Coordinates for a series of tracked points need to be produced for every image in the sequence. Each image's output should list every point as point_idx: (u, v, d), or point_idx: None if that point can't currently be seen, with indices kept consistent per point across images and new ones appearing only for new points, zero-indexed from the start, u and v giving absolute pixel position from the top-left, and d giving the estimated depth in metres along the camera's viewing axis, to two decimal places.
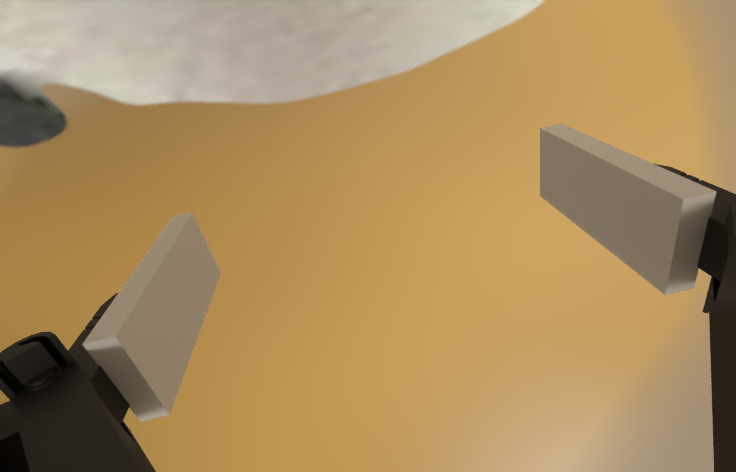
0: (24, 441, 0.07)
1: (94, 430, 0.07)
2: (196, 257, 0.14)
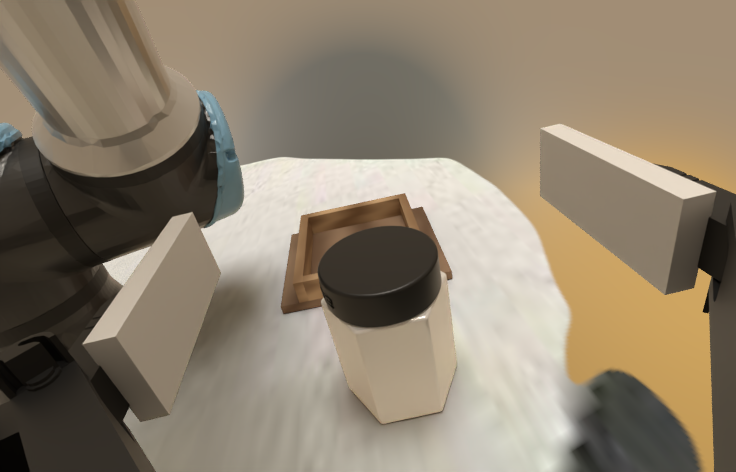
0: (24, 441, 0.07)
1: (94, 430, 0.07)
2: (196, 257, 0.14)
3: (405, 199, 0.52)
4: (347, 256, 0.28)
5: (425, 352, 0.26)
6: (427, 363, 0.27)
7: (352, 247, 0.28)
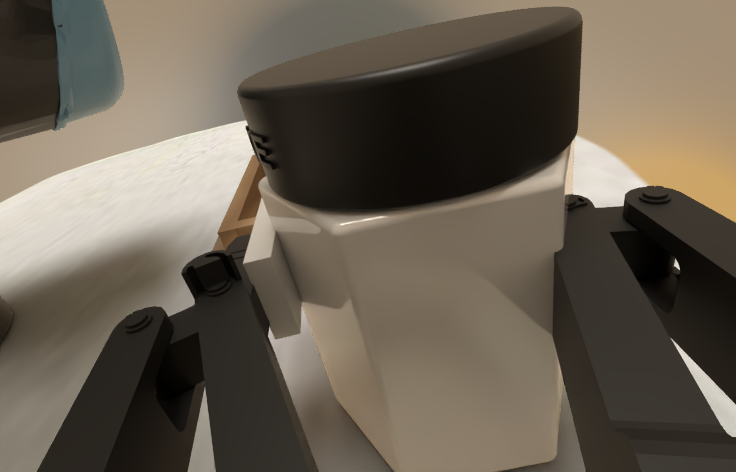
0: (200, 335, 0.09)
1: (249, 343, 0.08)
2: None
3: None
4: (322, 58, 0.11)
5: (539, 301, 0.09)
6: (539, 335, 0.10)
7: (337, 51, 0.12)
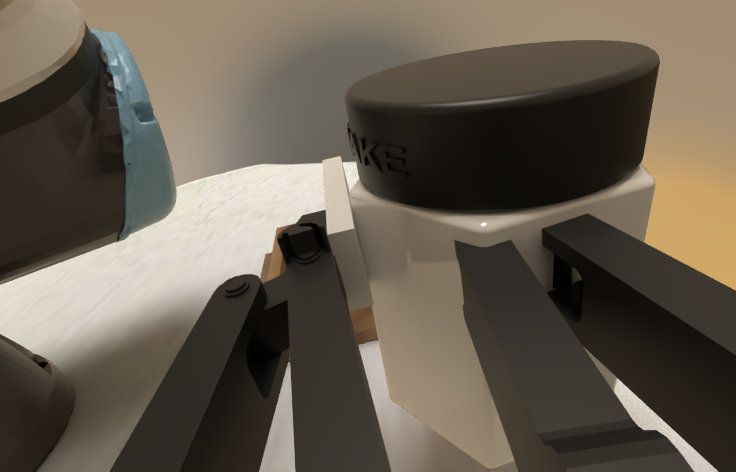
0: (288, 298, 0.09)
1: (334, 313, 0.08)
2: (349, 193, 0.16)
3: None
4: (412, 77, 0.12)
5: None
6: None
7: (414, 71, 0.13)
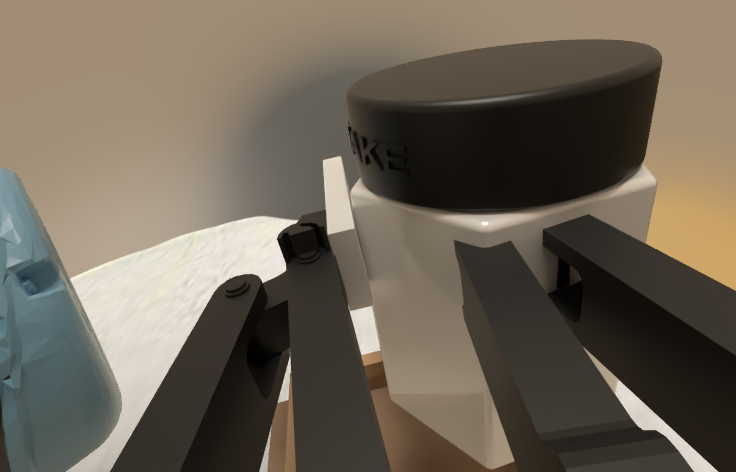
0: (288, 298, 0.09)
1: (334, 313, 0.08)
2: (349, 193, 0.16)
3: None
4: (413, 76, 0.12)
5: None
6: None
7: (415, 70, 0.13)
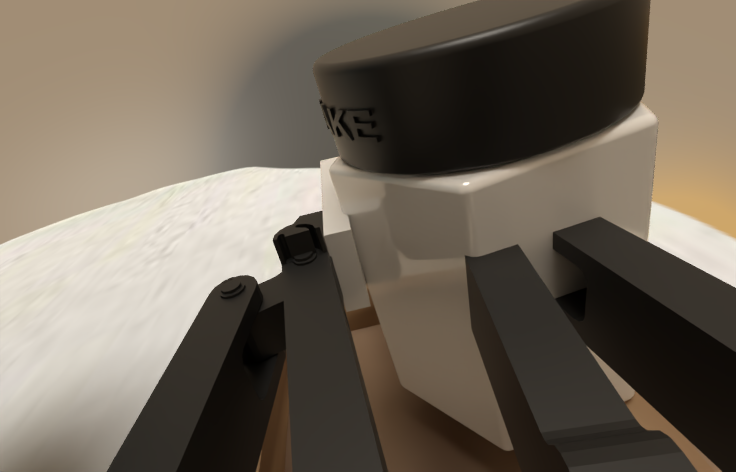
0: (285, 300, 0.09)
1: (330, 314, 0.08)
2: None
3: None
4: (383, 38, 0.11)
5: None
6: None
7: (387, 33, 0.12)
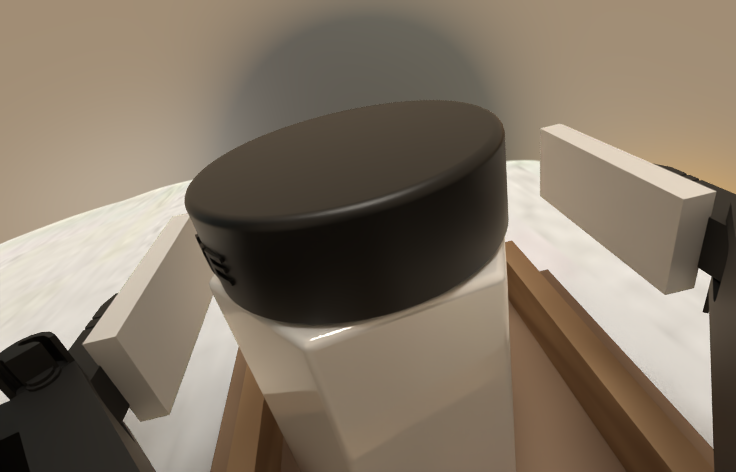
0: (24, 441, 0.07)
1: (94, 430, 0.07)
2: (196, 257, 0.14)
3: (522, 259, 0.20)
4: (266, 157, 0.11)
5: (493, 375, 0.10)
6: (496, 403, 0.11)
7: (278, 144, 0.12)
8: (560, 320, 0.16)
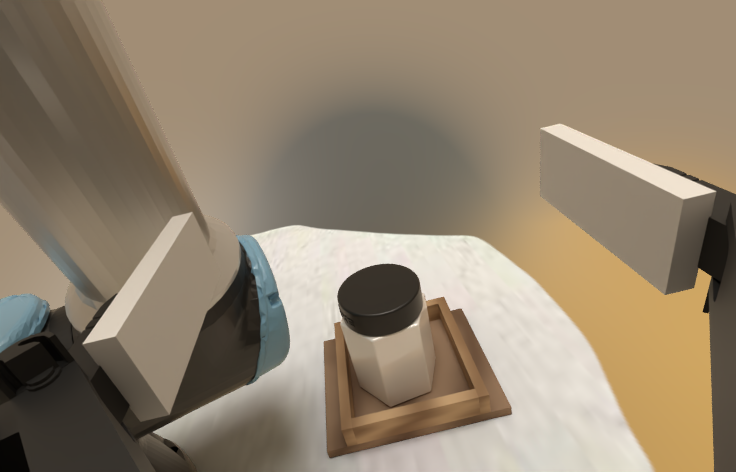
0: (24, 441, 0.07)
1: (93, 430, 0.07)
2: (196, 257, 0.14)
3: (446, 306, 0.49)
4: (357, 289, 0.40)
5: (418, 349, 0.39)
6: (419, 356, 0.39)
7: (358, 282, 0.41)
8: (453, 332, 0.45)
